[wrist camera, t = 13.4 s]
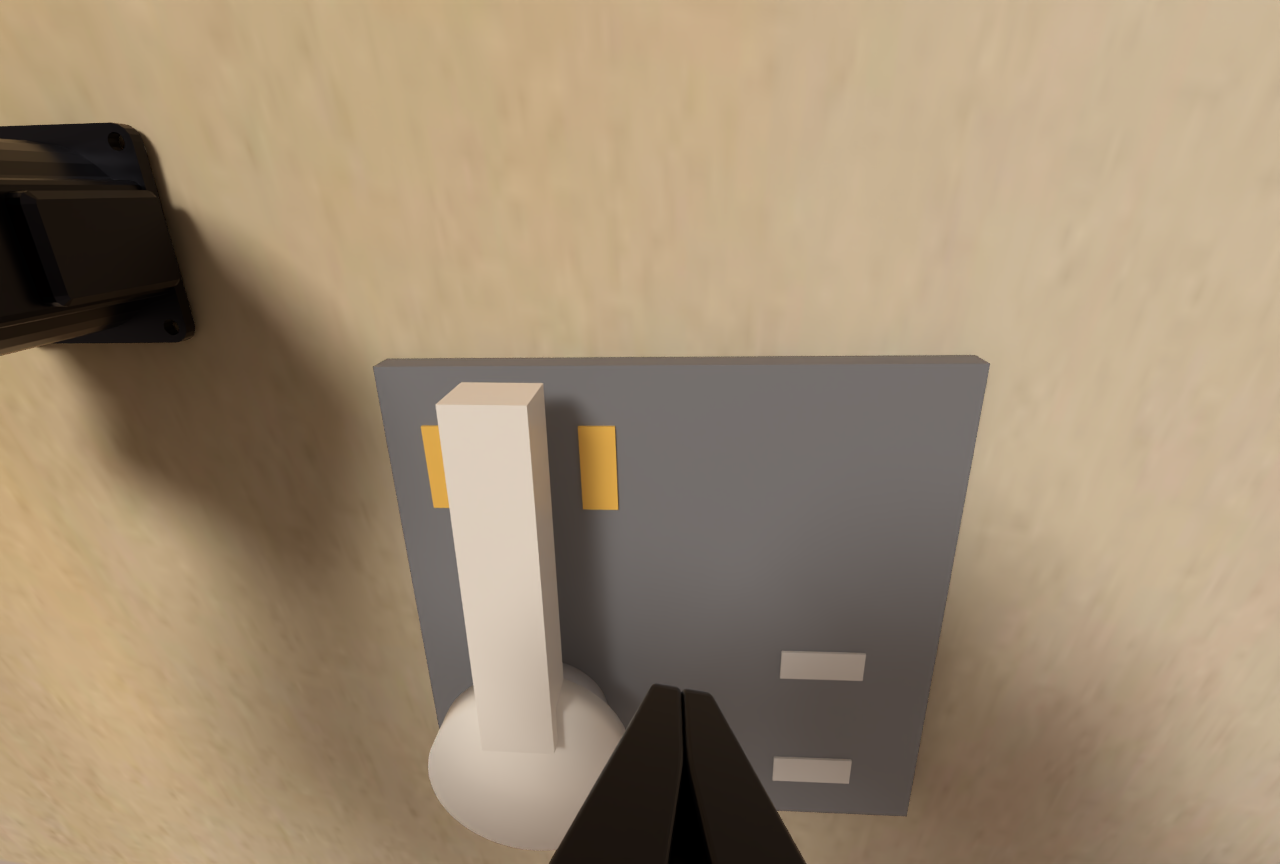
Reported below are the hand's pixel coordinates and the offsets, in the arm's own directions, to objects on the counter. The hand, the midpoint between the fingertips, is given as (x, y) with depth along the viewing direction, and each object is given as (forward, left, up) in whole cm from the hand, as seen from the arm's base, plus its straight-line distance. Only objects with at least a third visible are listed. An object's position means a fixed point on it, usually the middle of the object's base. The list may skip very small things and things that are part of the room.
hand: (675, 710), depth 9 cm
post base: (0, -8, -13) cm, 15 cm away
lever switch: (-5, -7, -10) cm, 13 cm away
